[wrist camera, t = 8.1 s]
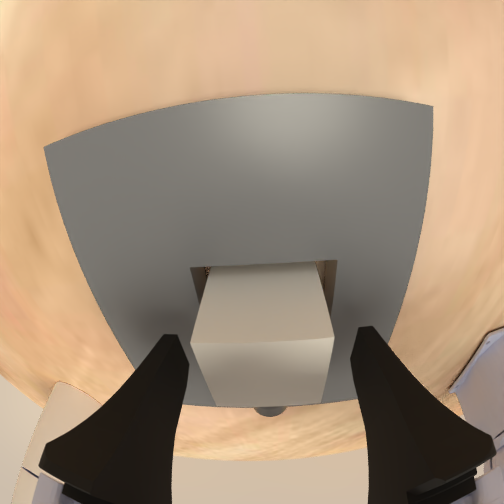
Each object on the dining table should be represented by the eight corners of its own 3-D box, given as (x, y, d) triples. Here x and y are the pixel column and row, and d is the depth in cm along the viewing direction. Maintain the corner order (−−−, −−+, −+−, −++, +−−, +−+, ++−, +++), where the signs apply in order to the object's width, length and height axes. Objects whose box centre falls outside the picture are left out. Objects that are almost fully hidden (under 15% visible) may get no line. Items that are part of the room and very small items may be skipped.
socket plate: (358, 376, 18) (363, 397, 16) (163, 380, 19) (157, 401, 17) (407, 103, 9) (433, 106, 7) (70, 137, 10) (43, 147, 8)
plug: (306, 338, 16) (316, 420, 11) (233, 342, 16) (224, 423, 11) (310, 245, 12) (334, 337, 8) (215, 251, 13) (190, 342, 8)
